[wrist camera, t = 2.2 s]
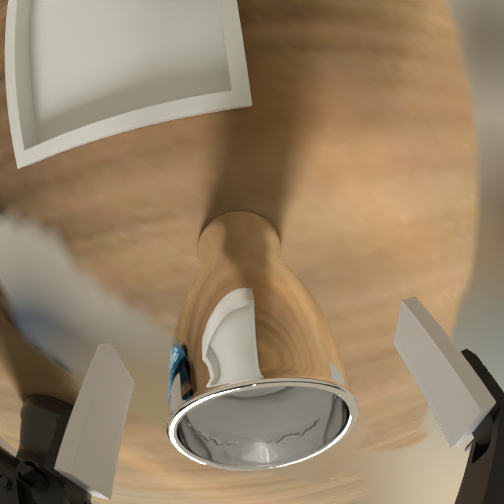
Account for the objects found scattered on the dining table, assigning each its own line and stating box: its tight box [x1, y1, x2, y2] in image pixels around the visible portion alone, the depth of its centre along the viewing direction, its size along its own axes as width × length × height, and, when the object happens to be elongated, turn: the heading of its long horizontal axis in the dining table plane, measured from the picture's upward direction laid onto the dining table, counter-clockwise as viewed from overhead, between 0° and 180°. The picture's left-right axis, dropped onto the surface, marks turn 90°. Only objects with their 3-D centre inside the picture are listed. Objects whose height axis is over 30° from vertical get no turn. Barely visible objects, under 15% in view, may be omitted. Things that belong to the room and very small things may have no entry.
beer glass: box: [167, 211, 359, 471], centre depth 15 cm, size 7×7×15 cm
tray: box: [5, 0, 252, 169], centre depth 13 cm, size 16×16×3 cm
